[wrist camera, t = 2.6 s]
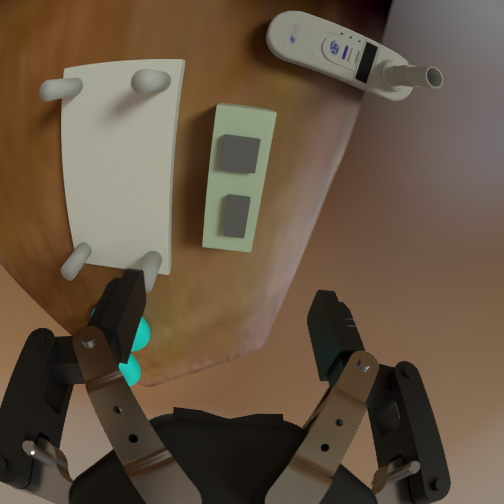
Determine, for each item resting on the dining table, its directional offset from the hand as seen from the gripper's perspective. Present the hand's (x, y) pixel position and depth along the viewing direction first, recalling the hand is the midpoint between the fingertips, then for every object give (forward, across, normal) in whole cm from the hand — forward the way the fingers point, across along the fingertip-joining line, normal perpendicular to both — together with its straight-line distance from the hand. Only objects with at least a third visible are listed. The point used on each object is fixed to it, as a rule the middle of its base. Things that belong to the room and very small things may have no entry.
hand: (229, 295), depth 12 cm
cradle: (+18, +13, +1) cm, 22 cm away
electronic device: (+19, -8, -14) cm, 25 cm away
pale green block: (+18, 0, 0) cm, 19 cm away
